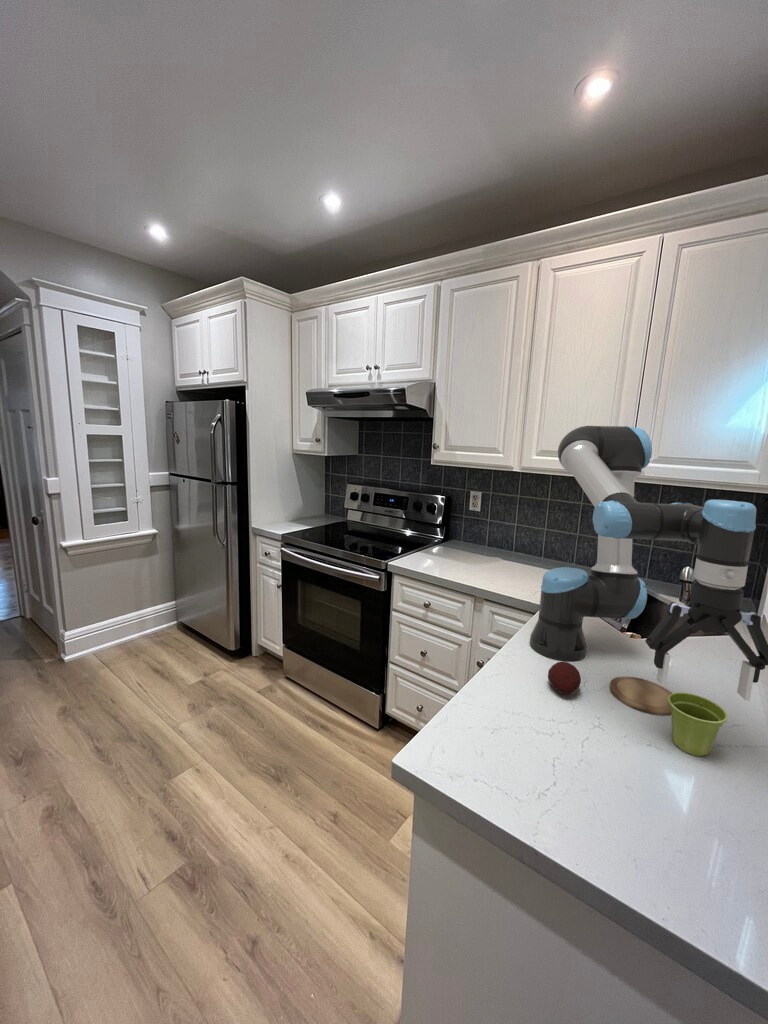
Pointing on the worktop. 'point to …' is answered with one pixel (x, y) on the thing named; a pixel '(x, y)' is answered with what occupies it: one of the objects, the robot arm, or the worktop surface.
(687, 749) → the plant pot
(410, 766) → the worktop surface
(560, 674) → the potato
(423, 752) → the worktop surface
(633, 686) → the plate
